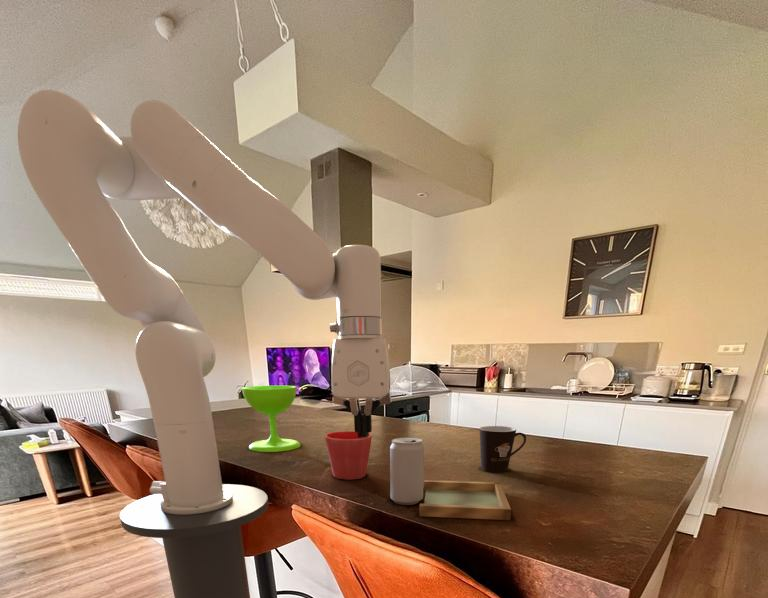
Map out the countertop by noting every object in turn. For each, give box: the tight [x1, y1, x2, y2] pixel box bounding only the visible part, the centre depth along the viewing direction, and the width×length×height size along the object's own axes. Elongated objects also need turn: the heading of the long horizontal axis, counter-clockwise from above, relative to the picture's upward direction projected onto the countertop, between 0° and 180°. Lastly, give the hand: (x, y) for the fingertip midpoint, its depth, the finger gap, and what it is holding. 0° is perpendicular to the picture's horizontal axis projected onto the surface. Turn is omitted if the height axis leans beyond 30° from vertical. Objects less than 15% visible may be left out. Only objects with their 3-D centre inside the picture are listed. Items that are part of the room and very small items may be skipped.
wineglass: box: [241, 385, 302, 453], centre depth 130 cm, size 16×16×18 cm
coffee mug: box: [479, 425, 527, 473], centre depth 103 cm, size 12×9×10 cm
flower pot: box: [324, 430, 372, 481], centre depth 98 cm, size 11×11×10 cm
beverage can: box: [389, 437, 425, 506], centre depth 80 cm, size 6×6×12 cm
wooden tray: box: [418, 479, 512, 521], centre depth 80 cm, size 16×16×2 cm
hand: (363, 436), depth 79 cm, fingers closed
